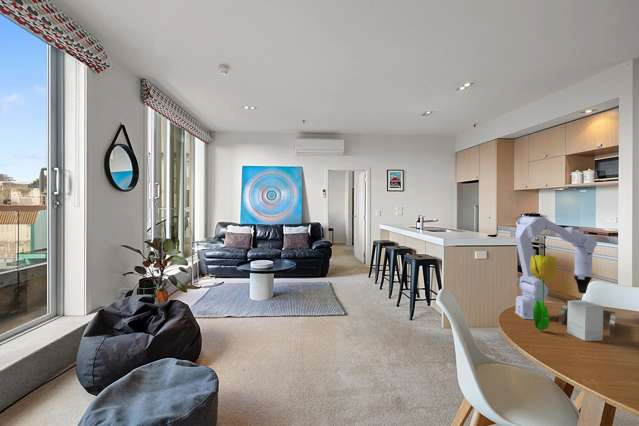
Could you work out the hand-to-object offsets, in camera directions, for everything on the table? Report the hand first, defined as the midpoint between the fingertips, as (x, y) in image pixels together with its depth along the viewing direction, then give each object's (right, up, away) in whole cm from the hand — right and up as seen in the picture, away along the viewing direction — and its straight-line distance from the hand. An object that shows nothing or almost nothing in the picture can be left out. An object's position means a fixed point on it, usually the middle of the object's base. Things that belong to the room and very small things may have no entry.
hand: (582, 292), depth 131 cm
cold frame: (-6, -11, -8) cm, 15 cm away
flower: (-30, -11, -16) cm, 36 cm away
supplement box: (-17, -11, -20) cm, 29 cm away
